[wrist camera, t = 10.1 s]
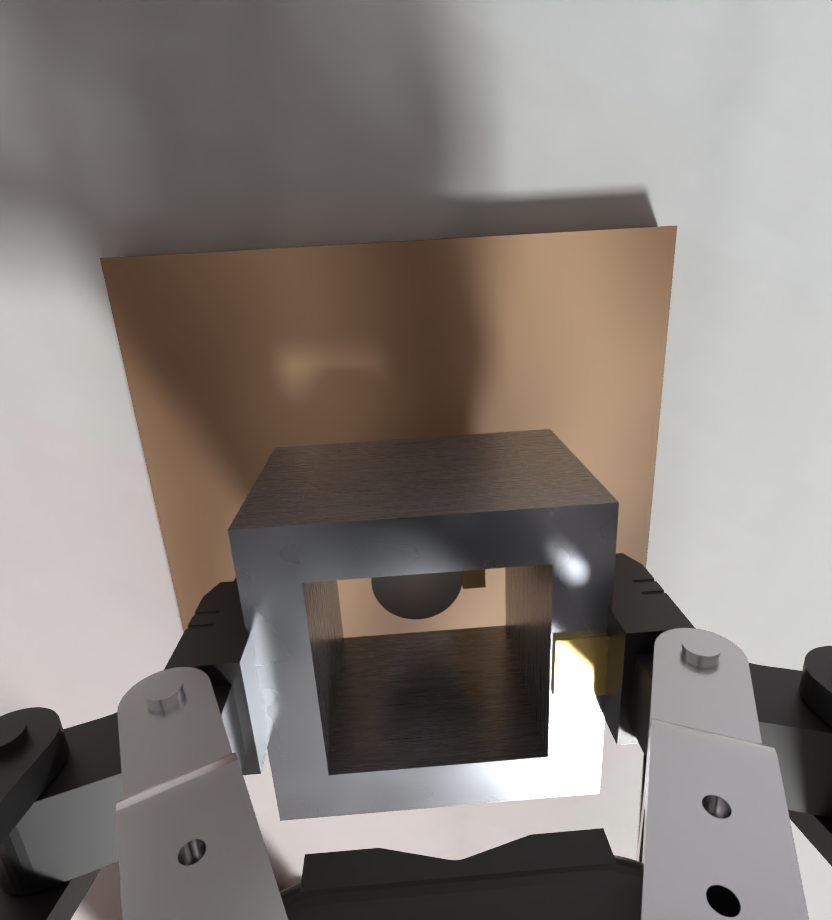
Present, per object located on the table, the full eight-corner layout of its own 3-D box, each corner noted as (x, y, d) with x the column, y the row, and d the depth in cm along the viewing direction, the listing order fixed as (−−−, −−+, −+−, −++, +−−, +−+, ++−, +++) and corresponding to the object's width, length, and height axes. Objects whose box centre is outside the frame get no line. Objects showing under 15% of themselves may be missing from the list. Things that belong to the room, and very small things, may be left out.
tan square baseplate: (212, 698, 20) (158, 839, 15) (118, 257, 15) (-6, 260, 10) (623, 665, 20) (696, 792, 15) (658, 227, 15) (781, 216, 11)
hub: (307, 674, 15) (279, 825, 11) (274, 447, 13) (225, 533, 9) (544, 655, 15) (600, 798, 11) (550, 428, 13) (621, 504, 9)
